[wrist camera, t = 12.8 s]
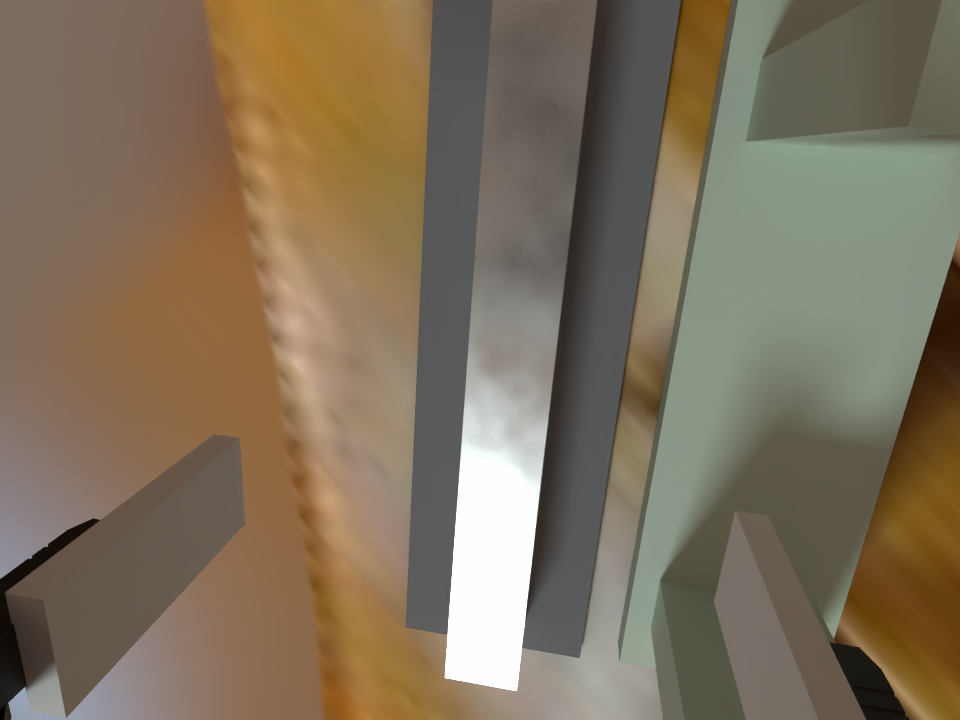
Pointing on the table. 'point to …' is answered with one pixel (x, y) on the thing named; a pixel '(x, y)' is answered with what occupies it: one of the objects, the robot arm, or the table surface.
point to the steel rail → (515, 321)
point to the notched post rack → (795, 314)
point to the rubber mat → (585, 311)
